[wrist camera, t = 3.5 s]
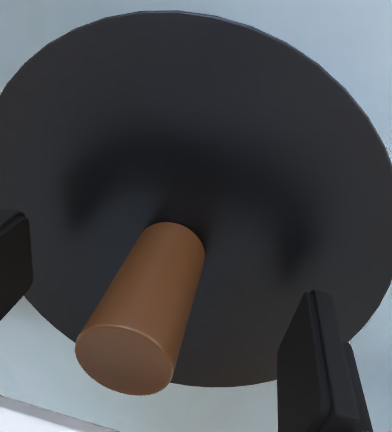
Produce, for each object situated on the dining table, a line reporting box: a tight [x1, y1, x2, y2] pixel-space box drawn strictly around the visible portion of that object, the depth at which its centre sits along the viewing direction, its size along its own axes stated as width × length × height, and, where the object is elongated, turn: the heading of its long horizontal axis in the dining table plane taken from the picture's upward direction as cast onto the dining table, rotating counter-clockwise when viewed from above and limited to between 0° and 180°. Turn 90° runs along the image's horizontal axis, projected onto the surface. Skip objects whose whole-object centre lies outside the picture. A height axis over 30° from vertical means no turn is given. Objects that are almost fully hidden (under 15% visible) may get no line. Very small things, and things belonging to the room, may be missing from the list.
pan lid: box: [0, 10, 392, 395], centre depth 11 cm, size 16×16×6 cm
